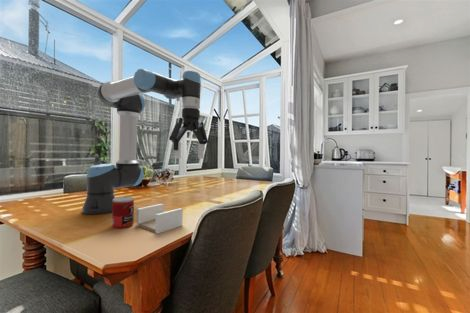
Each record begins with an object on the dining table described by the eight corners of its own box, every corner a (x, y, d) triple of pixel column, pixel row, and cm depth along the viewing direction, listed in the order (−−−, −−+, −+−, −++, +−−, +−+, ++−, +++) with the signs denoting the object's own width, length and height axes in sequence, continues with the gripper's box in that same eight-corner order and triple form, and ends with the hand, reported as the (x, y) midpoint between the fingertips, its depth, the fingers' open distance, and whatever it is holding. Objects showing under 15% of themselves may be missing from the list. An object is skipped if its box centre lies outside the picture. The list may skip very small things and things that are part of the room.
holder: (136, 225, 90) (136, 208, 90) (161, 219, 100) (161, 203, 100) (157, 233, 82) (158, 214, 82) (182, 225, 92) (182, 208, 92)
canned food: (125, 229, 85) (125, 201, 85) (107, 227, 87) (107, 200, 87) (137, 223, 93) (138, 197, 92) (121, 221, 94) (121, 196, 94)
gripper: (173, 101, 81) (172, 159, 82) (216, 113, 102) (215, 158, 102) (160, 103, 86) (159, 158, 86) (204, 114, 106) (203, 158, 106)
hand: (189, 158), depth 94 cm, fingers open, 13 cm apart
